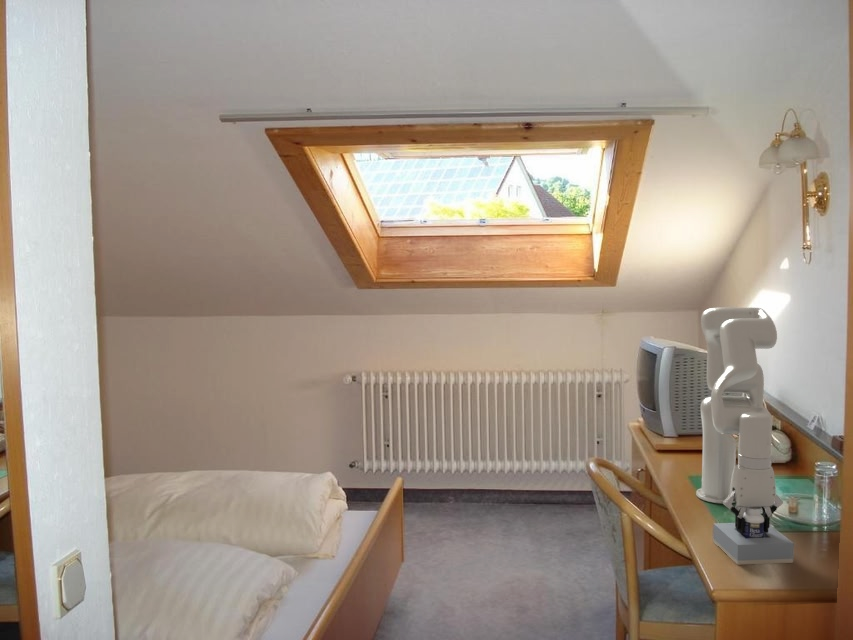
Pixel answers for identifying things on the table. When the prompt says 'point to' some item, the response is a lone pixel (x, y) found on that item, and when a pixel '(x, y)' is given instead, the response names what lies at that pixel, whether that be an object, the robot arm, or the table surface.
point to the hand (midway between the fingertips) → (752, 530)
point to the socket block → (753, 545)
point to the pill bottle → (753, 523)
